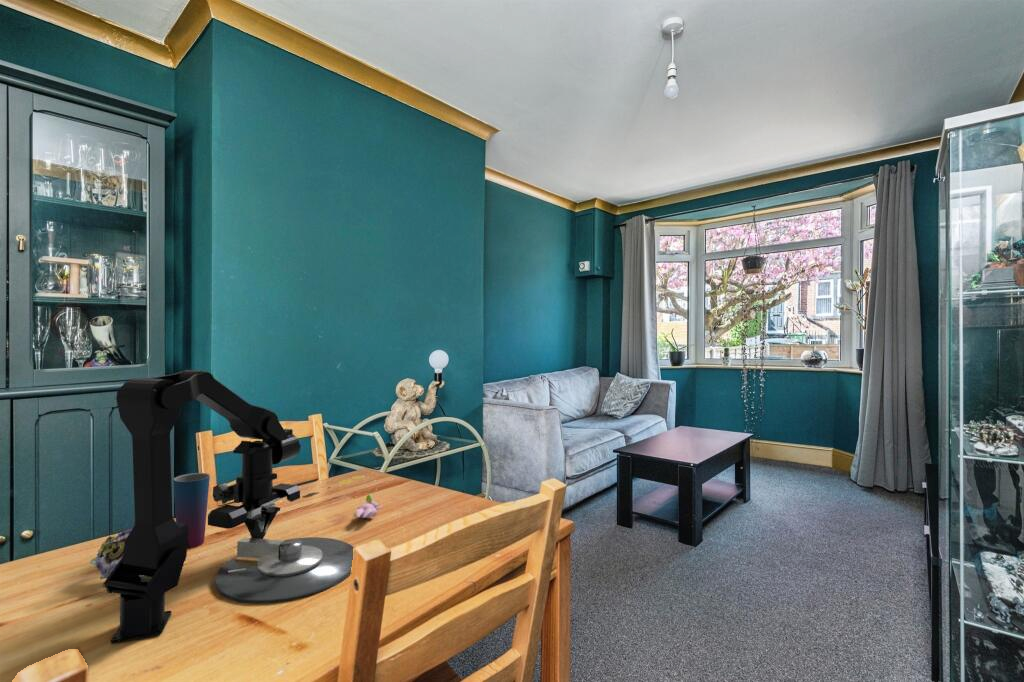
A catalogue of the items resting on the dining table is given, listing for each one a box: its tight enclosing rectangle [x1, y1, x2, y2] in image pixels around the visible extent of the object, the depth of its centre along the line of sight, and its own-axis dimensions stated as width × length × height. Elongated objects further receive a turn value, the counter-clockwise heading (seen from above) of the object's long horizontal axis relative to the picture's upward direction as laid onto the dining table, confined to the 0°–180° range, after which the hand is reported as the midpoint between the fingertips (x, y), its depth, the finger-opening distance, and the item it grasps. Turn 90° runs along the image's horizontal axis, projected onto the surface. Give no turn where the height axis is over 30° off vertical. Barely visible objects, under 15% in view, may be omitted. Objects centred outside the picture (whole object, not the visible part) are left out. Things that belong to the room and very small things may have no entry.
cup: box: [173, 472, 211, 550], centre depth 109 cm, size 7×7×15 cm
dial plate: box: [214, 536, 355, 604], centre depth 99 cm, size 26×26×1 cm
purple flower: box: [354, 493, 383, 519], centre depth 128 cm, size 6×6×15 cm
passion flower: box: [90, 528, 152, 587], centre depth 95 cm, size 11×11×12 cm
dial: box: [236, 537, 323, 576], centre depth 99 cm, size 17×12×4 cm
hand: (257, 544), depth 102 cm, fingers closed
